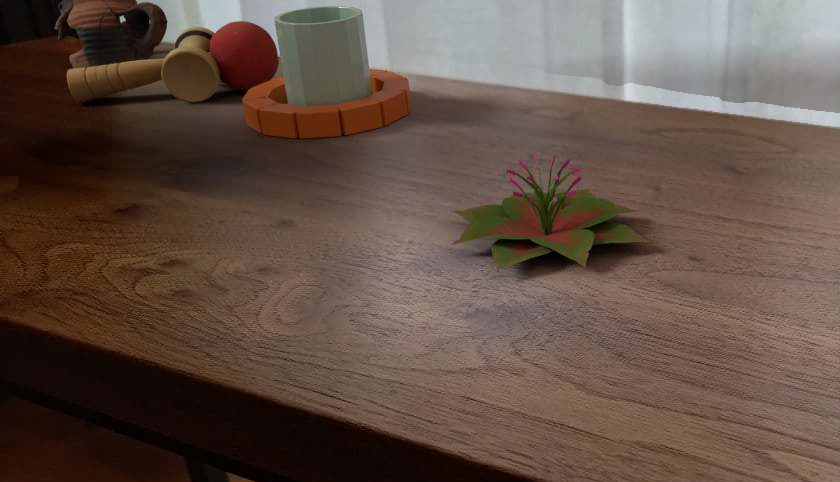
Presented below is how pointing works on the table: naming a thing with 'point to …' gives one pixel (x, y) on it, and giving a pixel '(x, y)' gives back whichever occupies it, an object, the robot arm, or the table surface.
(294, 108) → the ring
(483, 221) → the lily flower
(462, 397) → the table surface
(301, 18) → the cup
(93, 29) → the pottery mug
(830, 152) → the table surface
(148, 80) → the kendama
